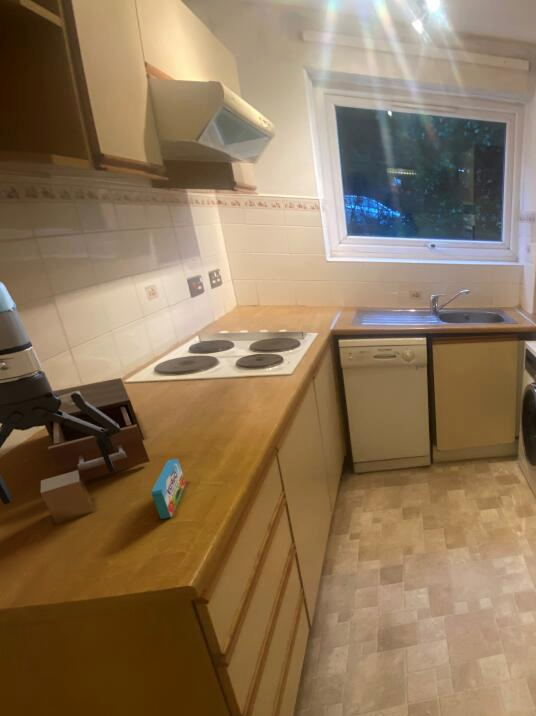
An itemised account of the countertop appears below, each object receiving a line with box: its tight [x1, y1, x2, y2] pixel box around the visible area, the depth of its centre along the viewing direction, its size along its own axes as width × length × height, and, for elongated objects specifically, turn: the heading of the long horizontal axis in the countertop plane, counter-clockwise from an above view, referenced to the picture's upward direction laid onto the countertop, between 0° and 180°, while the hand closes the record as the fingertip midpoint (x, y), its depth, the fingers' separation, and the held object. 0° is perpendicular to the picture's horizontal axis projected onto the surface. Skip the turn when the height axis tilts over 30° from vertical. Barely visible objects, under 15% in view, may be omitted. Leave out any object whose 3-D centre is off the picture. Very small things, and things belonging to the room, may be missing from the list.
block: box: [40, 470, 94, 525], centre depth 80 cm, size 5×5×7 cm
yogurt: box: [151, 458, 187, 520], centre depth 84 cm, size 12×2×6 cm, turn 24°
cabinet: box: [44, 377, 145, 446], centre depth 106 cm, size 20×15×11 cm
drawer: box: [47, 405, 151, 483], centre depth 94 cm, size 24×14×9 cm, turn 45°
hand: (62, 483), depth 79 cm, fingers open, 13 cm apart
